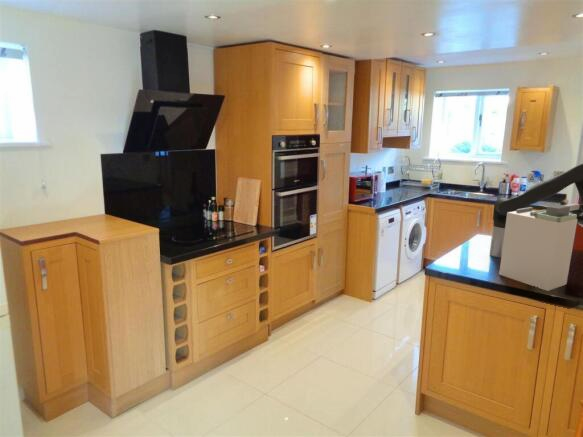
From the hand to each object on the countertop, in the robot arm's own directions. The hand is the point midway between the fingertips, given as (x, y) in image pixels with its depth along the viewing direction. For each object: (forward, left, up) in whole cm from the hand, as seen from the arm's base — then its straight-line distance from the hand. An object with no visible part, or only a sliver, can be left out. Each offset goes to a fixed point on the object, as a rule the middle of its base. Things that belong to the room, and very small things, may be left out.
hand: (571, 204), depth 199 cm
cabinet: (-13, -7, -37) cm, 40 cm away
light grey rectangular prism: (-3, -5, -5) cm, 8 cm away
